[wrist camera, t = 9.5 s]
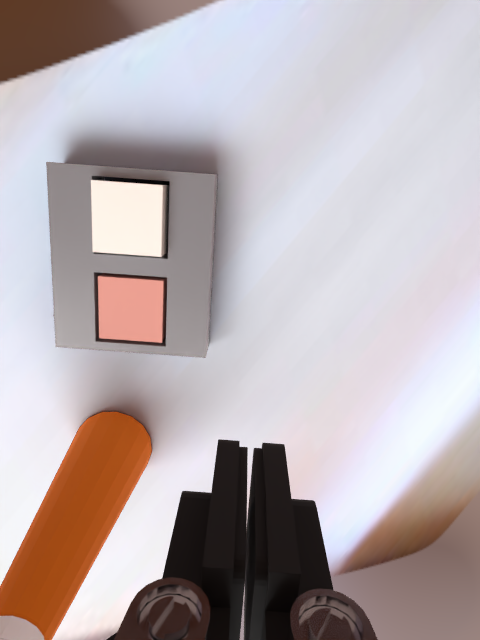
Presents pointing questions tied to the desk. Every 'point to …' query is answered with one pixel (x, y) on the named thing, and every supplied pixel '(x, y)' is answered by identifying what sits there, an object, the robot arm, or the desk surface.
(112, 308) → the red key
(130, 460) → the spray bottle
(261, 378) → the desk surface
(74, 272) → the key panel
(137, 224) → the white key
